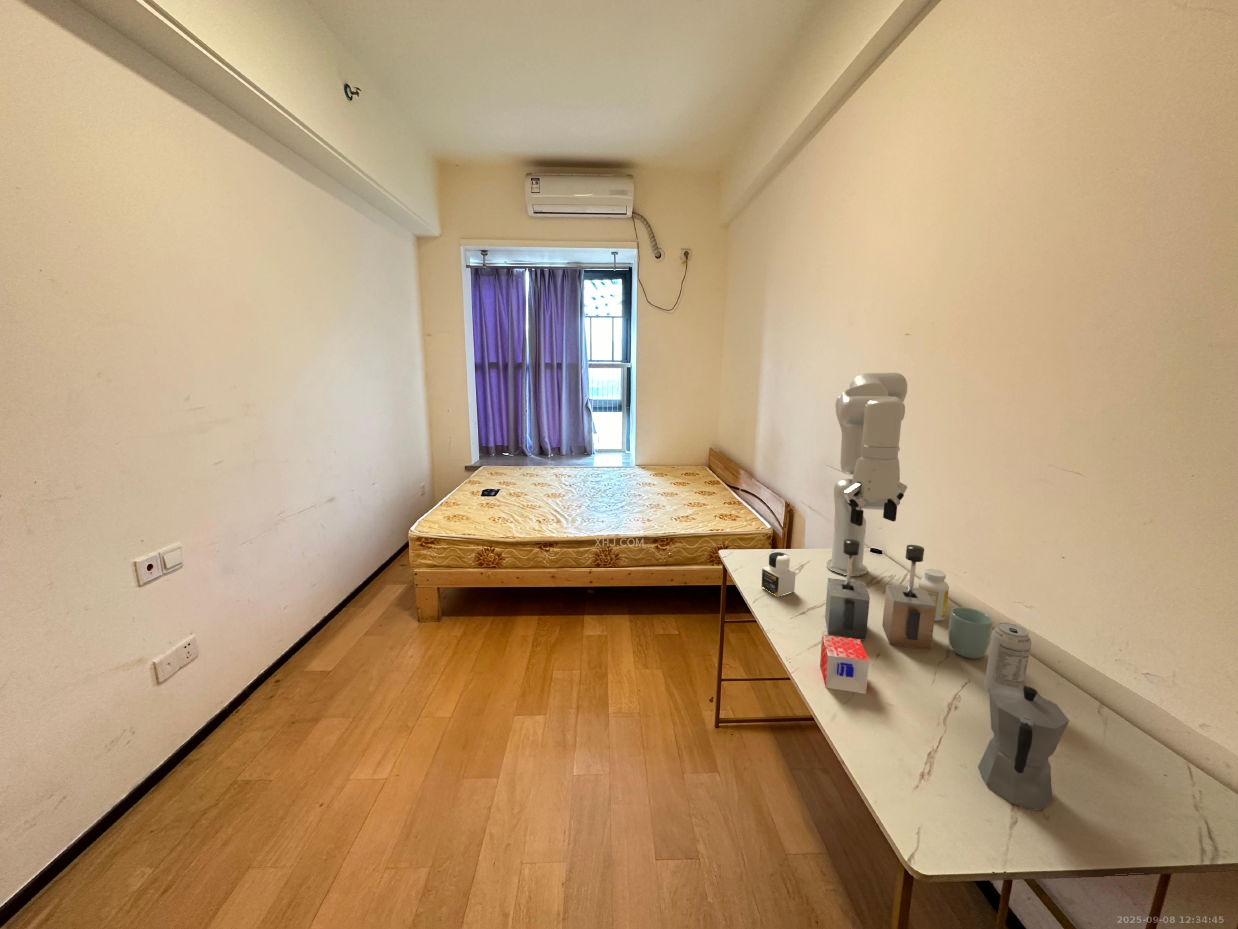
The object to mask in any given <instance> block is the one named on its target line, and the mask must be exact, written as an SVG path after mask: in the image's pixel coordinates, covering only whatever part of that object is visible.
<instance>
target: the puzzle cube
mask: <svg viewBox="0 0 1238 929" xmlns="http://www.w3.org/2000/svg"><path fill="white" fill-rule="evenodd" d="M820 649H821V650H820V661H819V667H820V671H821V675H822V678H823V682H824V686H825V688H826V689H827V688H828V689H834V690H840V691H846V692H847V691H848V692H854V693H860V694H865V695H866V694H867V686H868V678H869V676H868V675H869V668H870V667H869V664H870V661H869V660H870V659H869V657H868V656H867V652H866V650H865V647H864V645H863V643H862V641H861V640H860V639H854V638H847V637H841V636H834V635H828V634H827V635H826V634H822V635H821V647H820Z"/></svg>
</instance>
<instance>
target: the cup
mask: <svg viewBox="0 0 1238 929" xmlns="http://www.w3.org/2000/svg"><path fill="white" fill-rule="evenodd" d="M949 614H950V615H949V620H948V632H947V633H948V634H947V636H948V637H947V638H948V644H949V647H950V648H951V649H952V650H953V651H954V652H955V653H956V654H958V655H959V656H961V657H964V658H967V659H980V658H982V657H984V656H985V654H987V651H988V649H989V648H990V647H989V646H990V644H991V639H992V632H993V624H994V621H993V619H992V617H990V615H989V614H987V613H985V612H983V611H981V610H978V609H975V608H971V607H964V606H960V607H959V606H957V607H953V608H951V610H950V613H949Z"/></svg>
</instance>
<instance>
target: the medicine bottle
mask: <svg viewBox="0 0 1238 929" xmlns="http://www.w3.org/2000/svg"><path fill="white" fill-rule="evenodd" d="M790 560H791V557H790V555H788V554H786V553H784V552H779V551H777V552H776V551H775V552H772V553H769V555H768V566H763V567H762V569H761V570H762V571H761V588H762V587H764V588H765V589H767V590H768V591H770V592H771V593H773V594H775V595H776V596H781V595H783V594H786V593H789V592H793V591H795V588H796V574H797V572H796V571H795V570H793V569H791V568H790V562H791V561H790ZM795 592H796V591H795ZM771 593H770V594H771ZM776 596H775V597H776ZM781 597H782V596H781Z"/></svg>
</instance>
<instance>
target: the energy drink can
mask: <svg viewBox="0 0 1238 929" xmlns="http://www.w3.org/2000/svg"><path fill="white" fill-rule="evenodd" d="M1029 634H1030V633H1029V631H1028V630H1027V629H1025V627H1022V626H1020V625H1017V624H1015V623H1010V622H1009V623H1008V622H999V623H998V624H997V625H996V627H995V628H994V629H992V632H991V638H990V644H989V646H990V647H989V651H988V652H989V653H988V660H987V665H986V673H985V677H984V686H985V688H986V691H987V692H988V693H989V692H990V691H992V690H994V689H995V688H997V687H999V686H1001V685H1003V686H1009V687H1015V688H1017V687H1018V686H1020V685H1025V681H1026V677H1027V670H1028V665H1029V658H1030V652H1031V648H1032V640H1031V638H1030V636H1029Z"/></svg>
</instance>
